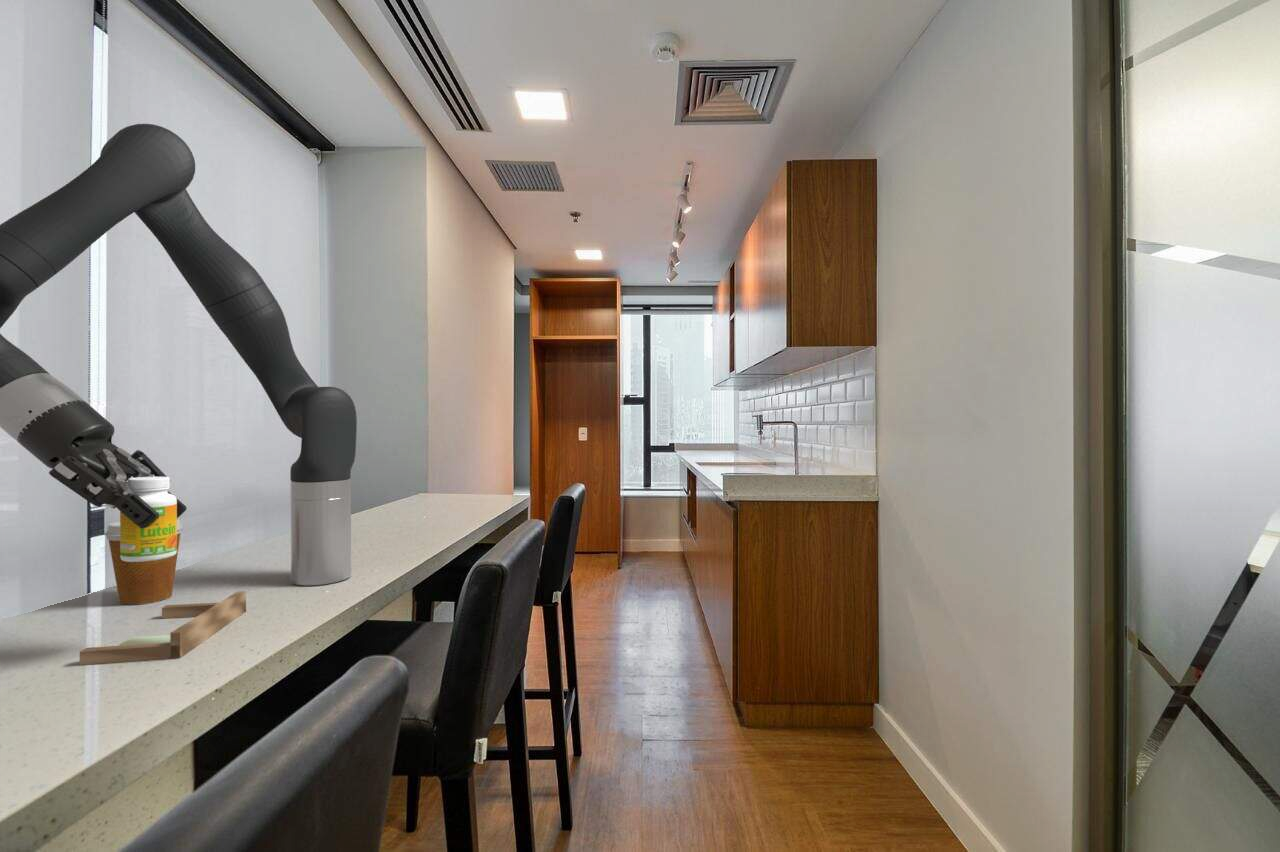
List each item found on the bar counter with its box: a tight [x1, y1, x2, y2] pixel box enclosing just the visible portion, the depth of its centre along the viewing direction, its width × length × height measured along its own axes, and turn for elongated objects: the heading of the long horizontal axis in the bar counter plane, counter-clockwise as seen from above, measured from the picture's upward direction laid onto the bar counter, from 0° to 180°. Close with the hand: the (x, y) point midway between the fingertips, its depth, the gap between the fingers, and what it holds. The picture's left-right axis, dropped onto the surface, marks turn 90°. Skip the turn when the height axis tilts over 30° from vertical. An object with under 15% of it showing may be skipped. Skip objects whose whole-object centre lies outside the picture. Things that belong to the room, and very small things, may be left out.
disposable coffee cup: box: [103, 517, 185, 605], centre depth 94 cm, size 10×10×12 cm
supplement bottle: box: [119, 476, 178, 562], centre depth 74 cm, size 5×5×10 cm
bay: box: [79, 590, 247, 666], centre depth 78 cm, size 17×10×3 cm, turn 11°
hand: (166, 518), depth 74 cm, fingers closed on supplement bottle, 5 cm apart
